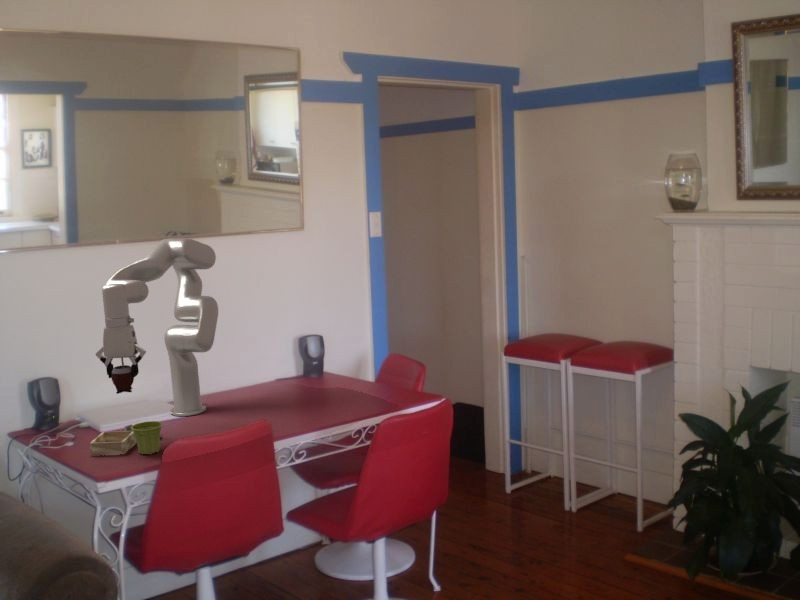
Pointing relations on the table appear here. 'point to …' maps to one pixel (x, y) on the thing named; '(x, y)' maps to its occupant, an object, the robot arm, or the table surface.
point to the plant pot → (147, 436)
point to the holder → (112, 443)
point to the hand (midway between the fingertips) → (123, 376)
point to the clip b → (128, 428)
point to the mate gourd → (122, 378)
